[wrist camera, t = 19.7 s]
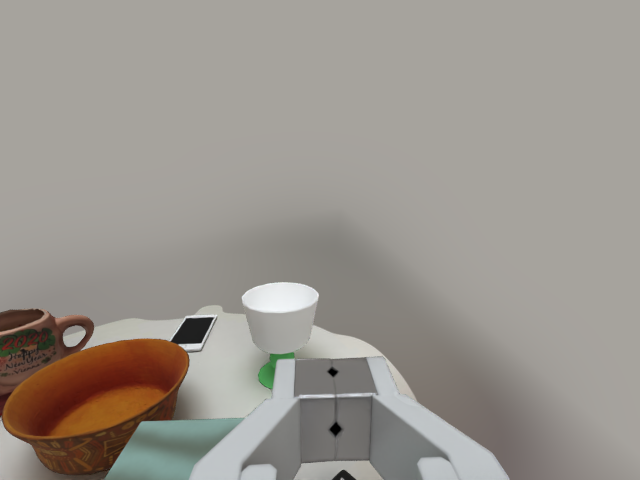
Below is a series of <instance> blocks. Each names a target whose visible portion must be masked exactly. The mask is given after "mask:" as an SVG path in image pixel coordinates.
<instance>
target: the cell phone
mask: <svg viewBox="0 0 640 480" xmlns="http://www.w3.org/2000/svg"><path fill="white" fill-rule="evenodd" d="M216 318H217V315H196V316H186V317H185V318H184V320H183V321H182V323H181V324H180V326H179V327H178V328H177V330H176V331H175V333H174V334H173V336H172V337H171V338H170V340H169V341H170V342H173V343H176V344H178V345H179V346H181V347H182V348H183V349H184V350H185V351H186V352H190V351H200V350H201V349H202V347H203V345H204V343H205V341H206V339H207V337H208V334H209V332H210V330H211V328H212V326H213V324H214V322H215V320H216Z"/></svg>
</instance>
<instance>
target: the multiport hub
mask: <svg viewBox="0 0 640 480" xmlns="http://www.w3.org/2000/svg"><path fill="white" fill-rule="evenodd" d="M332 480H356V479H355V478H354V477H352V476H351V475H350V474H349V473H348V472H347V471H345V470H342V471H340V472H339V473H338V474H337V475H336V476H335V477H334V478H333V479H332Z"/></svg>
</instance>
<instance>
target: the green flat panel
mask: <svg viewBox="0 0 640 480" xmlns="http://www.w3.org/2000/svg"><path fill="white" fill-rule="evenodd" d="M244 419H245V418H227V419H198V420H168V421H142V422H141V423H140V424H139V426H138V427H137V429H136V431H135V432H134V434H133V435H132V437H131V438H130V440H129V441H128V443H127V444H126V446H125V448H124V449H123V451H122V452H121V454H120V455H119V457H118V458H117V460H116V462H115V463H114V465H113V466H112V468H111V469H110V471H109V472H108V474H107V475H106V477H105V479H104V480H189V478H190V475H191V473H192V470H193V467H194V465H195V464H196V463H197V462H198V461H199V460H200V459H202V458H203V457H204V456H205V455H206V454H207V453H208V452H209V451H210V450H211V449H212V448H213V447H214V446H216V445H217V444H218V443H219V442H220V441H221V440H222V439H223V438H224V437H225V436H226V435H227V434H228V433H230V432H231V431H232V430H233V429H234V428H235V427H236V426H237V425H238V424H239V423H240V422H241V421H242V420H244Z"/></svg>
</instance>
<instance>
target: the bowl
mask: <svg viewBox="0 0 640 480" xmlns="http://www.w3.org/2000/svg"><path fill="white" fill-rule="evenodd" d="M188 367H189V355H188V353H187V352H186V351H185V350H184V349H183V348H182V347H181V346H179V345H178V344H176V343H173V342H170V341H167V340H162V339H133V340H121V341H117V342H113V343H106V344H102V345H99V346H95V347H91V348H88V349H85V350H82V351H79V352H76V353H73V354H71V355H69V356H67V357H65V358H62V359H60V360H58V361H56V362H54V363H52V364H50V365H48V366H46V367H44V368H42V369H40V370H39V371H37V372H35V373H34V374H33V375H31V376H30V377H28V378H27V379H26V380H24V381H23V382H22V383H21V384H20V385H18V386H17V387H16V388H15V389H14V391H13V392H12V394H11V395H10V396H9V398H8V400H7V401H6V403H5V406H4V408H3V411H2V420H3V424H4V427H5V429H6V430H7V431H8V432H9V433H10V434H11V435H13V436H15V437H17V438H19V439H21V440H23V441H25V442H27V443H29V444H30V445H32V447H33V448H34V450H35V452H36V455H37V457H38V458H39V460H40V461H41V462H42V463H43V464H44V466H45V467H47V468H48V469H50V470H52V471H53V472H57V473H60V474H67V475H84V474H92V473H95V472H99V471H102V470H106V469H109V468H112V466H113V465H114V463H115V462H116V460H117V458H118V457H119V455H120V454H121V452H122V451H123V449H124V448H125V446H126V444H127V443H128V441H129V440H130V438H131V437H132V435H133V434H134V432H135V431H136V429H137V427H138V426H139V424H140V423H141V422H142V421H168V420H172V418H173V416H174V412H175V408H176V401H177V394H178V390H179V387H180V385H181V383H182V381H183V379H184V378H185V376H186V374H187V371H188Z"/></svg>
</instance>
